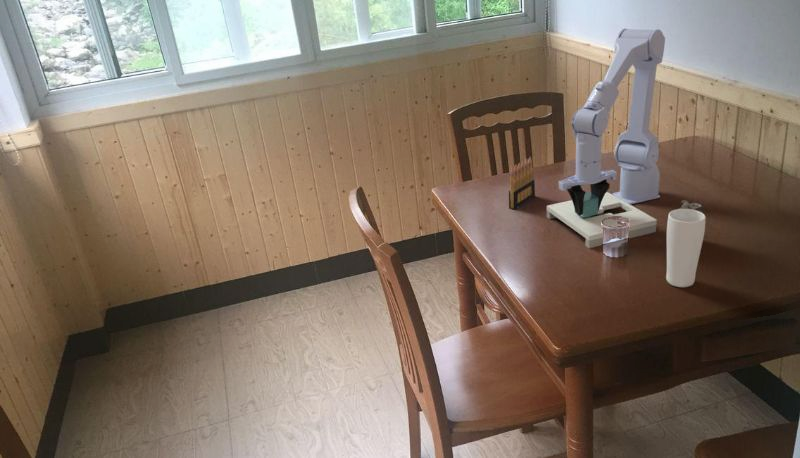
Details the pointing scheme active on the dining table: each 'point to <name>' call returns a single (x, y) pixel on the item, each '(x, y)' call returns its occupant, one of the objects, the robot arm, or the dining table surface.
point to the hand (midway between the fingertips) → (586, 211)
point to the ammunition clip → (521, 184)
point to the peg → (589, 205)
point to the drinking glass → (683, 245)
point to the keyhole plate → (592, 226)
